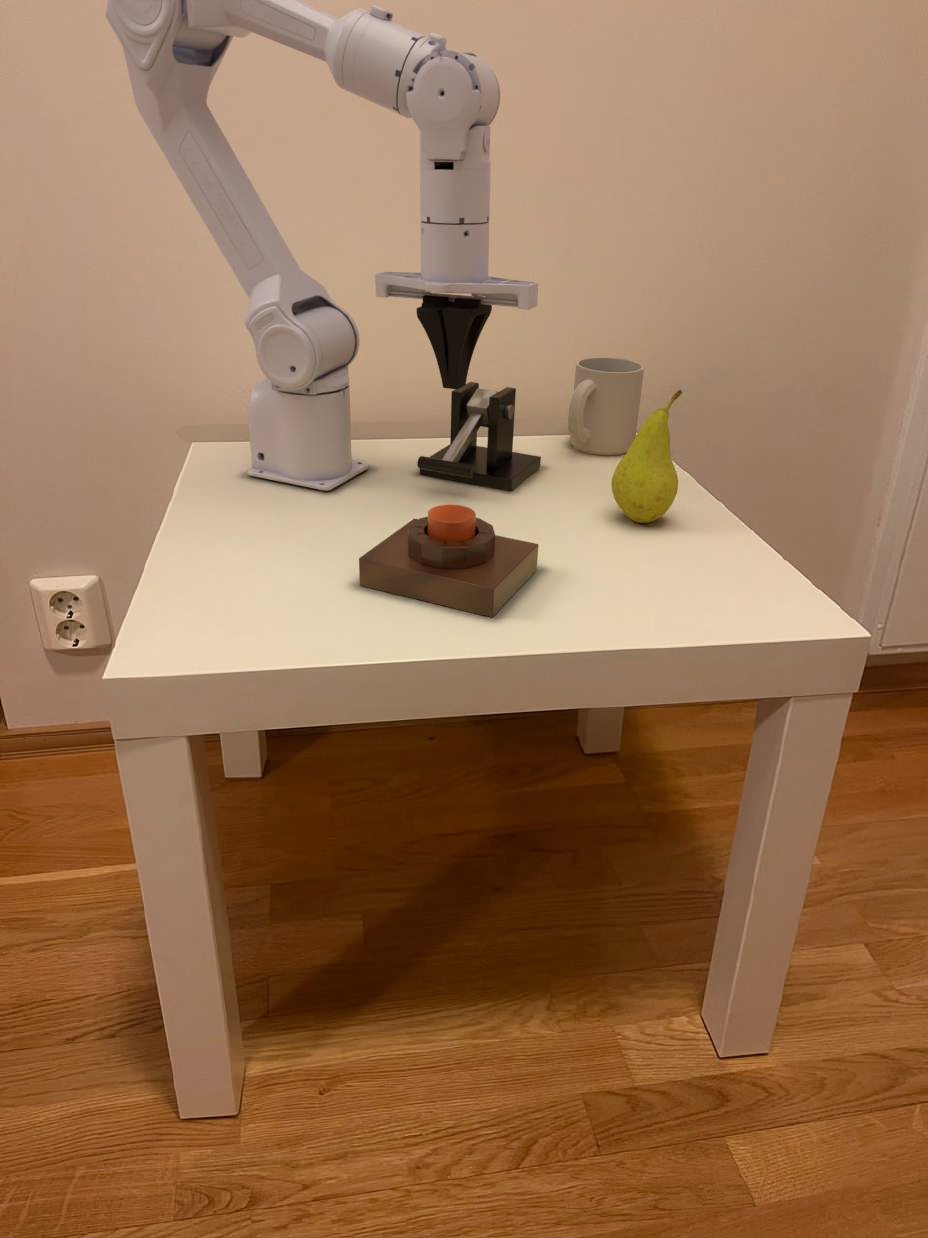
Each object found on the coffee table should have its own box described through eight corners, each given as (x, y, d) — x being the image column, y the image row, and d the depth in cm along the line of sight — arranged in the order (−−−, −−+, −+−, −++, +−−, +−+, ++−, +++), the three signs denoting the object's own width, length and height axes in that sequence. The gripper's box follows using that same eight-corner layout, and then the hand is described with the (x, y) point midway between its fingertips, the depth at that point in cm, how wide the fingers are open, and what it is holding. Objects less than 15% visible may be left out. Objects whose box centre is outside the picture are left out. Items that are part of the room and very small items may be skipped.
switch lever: (472, 485, 84) (468, 465, 82) (419, 475, 86) (415, 456, 84) (515, 412, 90) (513, 392, 88) (465, 405, 92) (461, 385, 90)
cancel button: (419, 538, 68) (419, 516, 67) (440, 522, 71) (440, 501, 70) (462, 547, 67) (463, 525, 66) (482, 530, 69) (483, 509, 69)
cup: (646, 446, 101) (657, 365, 97) (596, 466, 95) (604, 380, 90) (593, 432, 106) (600, 354, 101) (541, 450, 99) (546, 368, 95)
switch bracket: (511, 491, 88) (516, 406, 84) (419, 474, 91) (419, 391, 87) (540, 467, 94) (546, 387, 90) (453, 452, 98) (455, 374, 94)
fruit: (598, 509, 84) (612, 379, 78) (657, 506, 85) (675, 377, 79) (621, 534, 79) (638, 396, 73) (683, 529, 80) (704, 394, 75)
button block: (359, 585, 69) (357, 536, 67) (414, 543, 76) (414, 498, 74) (492, 618, 65) (495, 567, 63) (537, 570, 72) (540, 523, 70)
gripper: (354, 221, 75) (361, 387, 81) (518, 229, 69) (512, 406, 76) (395, 215, 80) (399, 370, 87) (550, 222, 75) (542, 387, 81)
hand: (454, 386), depth 82 cm, fingers closed
